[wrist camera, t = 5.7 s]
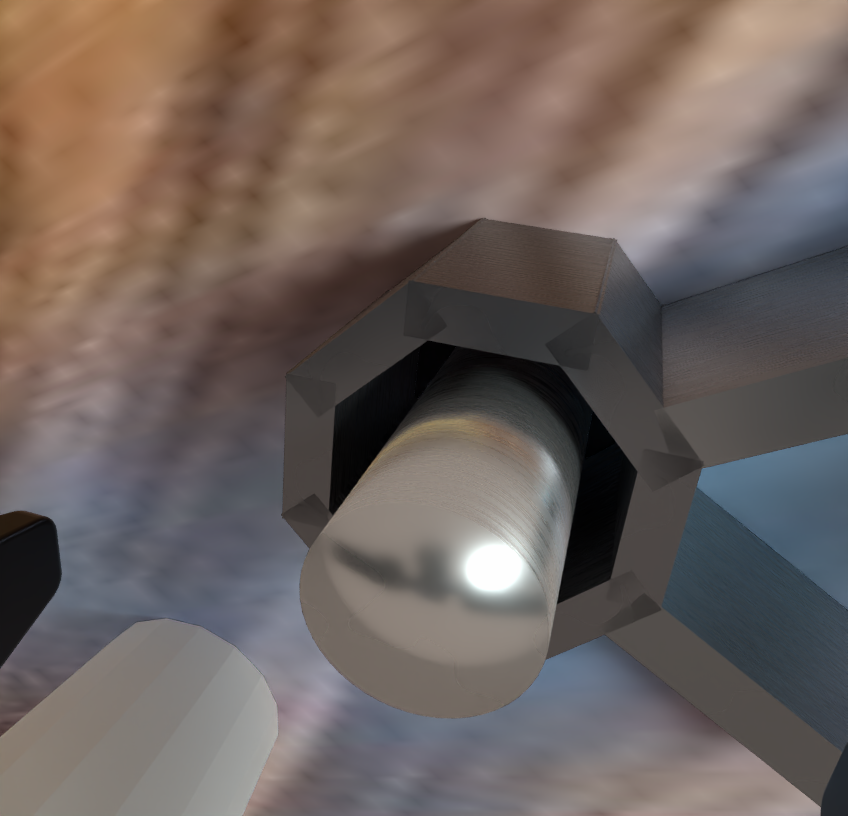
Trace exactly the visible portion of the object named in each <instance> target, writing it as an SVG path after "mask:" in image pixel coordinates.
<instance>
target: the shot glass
mask: <svg viewBox="0 0 848 816" xmlns="http://www.w3.org/2000/svg"><path fill="white" fill-rule="evenodd" d="M277 736H278V709H277V704H276V702H275V700H274V698H273V696H272V694H271V691H270V689H269V687H268V685H267V683H266V681H265V679H264V677H263V675H262V674H261V673H260V672H259V671H258V670H257V668H256V667H255V666H254V665H253V664H252V663H251V662H250V661H249V660H248V659H247V658H246V657H245V656H244V655H243V654H242V653H241V652H240V651H239V650H238V649H237V647H235V646H234V645H232V644H230V643H229V642H227V641H225V640H223V639H222V638H220V637H218V636H217V635H215V634H213V633H212V632H210V631H208V630H207V629H205V628H203V627H201V626H197V625H193V624H188V623H184V622H180V621H176V620H172V619H168V618H164V619H157V620H150V621H142V622H136V623H135V624H133V625H132V626H131V627H129V628H128V629H127V630H125V631H124V632H123V633H121V634H120V635H119V636H117V637H116V638H115V639H114V640H112V641H111V642H110V643H109V644H108V645H107V646H105V647H104V648H103V649H102V650H101V651H100V652H98V653H97V654H96V655H95V656H94V657H93V658H91V659H90V660H89V661H88V662H87V663H86V664H84V665H83V666H82V667H81V668H80V669H79V670H77V671H76V672H75V673H74V674H73V675H72V676H70V677H69V678H68V679H67V680H66V681H65V682H64V683H62V684H61V685H60V686H59V687H58V688H57V689H55V690H54V691H53V692H52V693H51V694H50V695H48V696H47V697H46V698H45V699H44V700H43V701H41V702H40V703H39V704H38V705H37V706H36V707H34V708H33V709H32V710H31V711H30V712H29V713H27V714H26V715H25V716H24V717H23V718H22V719H20V720H19V721H18V722H17V723H16V724H15V725H14V726H12V727H11V728H10V729H9V730H8V731H7V732H5V733H4V734H3V735H2V736H1V737H0V816H243V813H244V811H245V809H246V807H247V804H248V802H249V800H250V797H251V795H252V793H253V791H254V788H255V786H256V784H257V782H258V779H259V777H260V775H261V773H262V770H263V768H264V766H265V763H266V761H267V759H268V757H269V754H270V752H271V750H272V748H273V745H274V743H275V741H276V739H277Z"/></svg>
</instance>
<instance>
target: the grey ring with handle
mask: <svg viewBox="0 0 848 816" xmlns="http://www.w3.org/2000/svg"><path fill="white" fill-rule="evenodd" d="M428 340H429V341H434V342H440V343H445V344H450V345H455V346H460V347H465V348H471V349H476V350H481V351H486V352H491V353H496V354H502V355H507V356H512V357H517V358H522V359H527V360H533V361H538V362H543V363H548V364H553V365H558V366H561V367H562V369H563V370H564V371H565V373H566V374H567V376H568V377H569V378H570V380H571V381H572V382H573V384H574V385H575V386H576V388H577V389H578V391H579V392H580V393H581V395H582V396H583V397H584V399H585V400H586V402H587V403H588V404H589V406H590V407H591V408H592V410H593V411H594V412H595V414H596V415H597V417H598V418H599V419H600V421H601V422H602V423H603V425H604V426H605V427H606V429H607V430H608V432H609V433H610V434H611V436H612V437H613V438H614V440H615V441H616V443H615V444H613V445H611V446H609V447H608V448H606V449H604V450H602V451H600V452H598V453H597V454H595V455H593V456H591V457H589V458H588V459H586V460H584V462H583V467H582V473H581V478H580V483H579V488H578V494H577V499H576V504H575V510H574V515H573V520H572V526H571V531H570V536H569V541H568V547H567V552H566V557H565V563H564V568H563V573H562V578H561V584H560V589H559V594H558V600H557V605H556V610H555V615H554V621H553V626H552V631H551V637H550V642H549V647H548V652H547V655H546V659H549V658H551V657H553V656H556V655H558V654H560V653H563V652H565V651H567V650H570V649H572V648H574V647H577V646H579V645H581V644H584V643H586V642H588V641H591V640H593V639H595V638H598V637H600V636H602V635H606V636H607V637H608V638H610V639H611V640H612V641H613V642H615V643H616V644H617V645H618V646H620V647H621V648H622V649H623V650H625V651H626V652H627V653H628V654H630V655H631V656H632V657H633V658H635V659H636V660H637V661H638V662H640V663H641V664H642V665H643V666H645V667H646V668H647V669H649V670H650V671H651V672H652V673H654V674H655V675H656V676H657V677H659V678H660V679H661V680H662V681H664V682H665V683H666V684H667V685H669V686H670V687H671V688H672V689H674V690H675V691H676V692H677V693H679V694H680V695H681V696H682V697H684V698H685V699H686V700H687V701H689V702H690V703H691V704H692V705H694V706H695V707H696V708H697V709H699V710H700V711H701V712H702V713H704V714H705V715H706V716H707V717H709V718H710V719H711V720H712V721H714V722H715V723H716V724H717V725H719V726H720V727H721V728H722V729H724V730H725V731H726V732H727V733H729V734H730V735H731V736H732V737H734V738H735V739H736V740H737V741H739V742H740V743H741V744H742V745H744V746H745V747H746V748H747V749H749V750H750V751H751V752H752V753H754V754H755V755H756V756H757V757H759V758H760V759H761V760H762V761H764V762H765V763H766V764H767V765H769V766H770V767H771V768H772V769H774V770H775V771H776V772H777V773H779V774H780V775H781V776H782V777H784V778H785V779H786V780H787V781H789V782H790V783H791V784H792V785H794V786H795V787H796V788H797V789H799V790H800V791H801V792H802V793H804V794H805V795H806V796H808V797H809V798H810V799H811V800H813V801H814V802H815V803H816V804H818V805H819V806H820V807H821V802H822V797H823V793H824V791H825V788H826V786H827V784H828V782H829V780H830V778H831V775H832V773H833V771H834V769H835V767H836V765H837V762H838V760H839V758H840V756H841V754H842V752H843V750H844V747H845V745H846V744H847V742H848V610H847V609H845V608H844V607H843V606H842V605H841V604H839V603H838V602H837V601H836V600H834V599H833V598H832V597H831V596H829V595H828V594H827V593H826V592H825V591H823V590H822V589H821V588H820V587H818V586H817V585H816V584H815V583H813V582H812V581H811V580H810V579H809V578H807V577H806V576H805V575H804V574H802V573H801V572H800V571H799V570H797V569H796V568H795V567H794V566H793V565H791V564H790V563H789V562H788V561H786V560H785V559H784V558H783V557H781V556H780V555H779V554H778V553H777V552H775V551H774V550H773V549H772V548H770V547H769V546H768V545H767V544H765V543H764V542H763V541H762V540H761V539H759V538H758V537H757V536H756V535H754V534H753V533H752V532H751V531H749V530H748V529H747V528H746V527H745V526H743V525H742V524H741V523H740V522H738V521H737V520H736V519H735V518H734V517H732V516H731V515H730V514H729V513H727V512H726V511H725V510H724V509H722V508H721V507H720V506H719V505H718V504H716V503H715V502H714V501H713V500H711V499H710V498H709V497H708V496H706V495H705V494H704V493H703V492H702V491H700V490H699V489H698V488H697V487H696V486H697V483H698V480H699V476H700V473H701V469H702V468H706V467H711V466H715V465H719V464H723V463H727V462H732V461H736V460H740V459H744V458H748V457H752V456H757V455H761V454H765V453H769V452H773V451H778V450H782V449H786V448H790V447H794V446H798V445H803V444H807V443H811V442H815V441H819V440H824V439H828V438H832V437H836V436H840V435H844V434H848V246H847V247H844V248H841V249H837V250H834V251H831V252H828V253H825V254H822V255H819V256H816V257H813V258H810V259H807V260H804V261H800V262H797V263H794V264H791V265H788V266H785V267H782V268H779V269H776V270H773V271H770V272H767V273H763V274H760V275H757V276H754V277H751V278H748V279H745V280H742V281H739V282H736V283H733V284H730V285H727V286H723V287H720V288H717V289H714V290H711V291H708V292H705V293H702V294H699V295H696V296H693V297H690V298H686V299H683V300H680V301H677V302H674V303H671V304H668V305H665V306H661V305H660V303H659V302H658V300H657V299H656V298H655V296H654V295H653V293H652V292H651V290H650V289H649V288H648V286H647V285H646V283H645V282H644V280H643V279H642V277H641V276H640V275H639V273H638V272H637V270H636V269H635V267H634V266H633V265H632V263H631V262H630V260H629V259H628V257H627V256H626V254H625V253H624V252H623V250H622V249H621V247H620V246H619V244H618V243H617V240H615V239H614V238H613V239H608V238H602V237H596V236H589V235H583V234H577V233H570V232H564V231H558V230H552V229H545V228H539V227H533V226H526V225H520V224H514V223H507V222H501V221H495V220H488V219H486V218H484V219H480V220H479V221H478V222H477V223H476V224H475V225H473V226H472V227H471V228H470V229H469V230H467V231H466V232H465V233H464V234H463V235H462V236H460V237H459V238H458V239H456V240H455V241H454V242H453V243H451V244H450V245H449V246H447V247H446V248H445V249H443V250H442V251H441V252H439V253H438V254H437V255H436V256H434V257H433V258H432V259H430V260H429V261H428V262H426V263H425V264H424V265H422V266H421V267H420V268H419V269H417V270H416V271H415V272H413V273H412V274H411V275H409V276H408V277H407V278H405V279H404V280H403V281H402V282H400V283H399V284H398V285H396V286H395V287H394V288H392V289H391V290H388V291H387V292H385V293H384V294H383V295H382V296H380V297H379V298H378V299H377V300H376V301H374V302H373V303H372V304H371V305H369V306H368V307H367V308H366V309H365V310H363V311H362V312H361V313H360V314H358V315H357V316H356V317H355V318H354V319H352V320H351V321H350V322H349V323H347V324H346V325H345V326H344V327H343V328H341V329H340V330H339V331H338V332H336V333H335V334H334V335H333V336H332V337H330V338H329V339H328V340H327V341H325V342H324V343H323V344H322V345H321V346H319V347H318V348H317V349H316V350H314V351H313V352H312V353H311V354H310V355H308V356H307V357H306V358H305V359H303V360H302V361H301V362H300V363H299V364H297V365H296V366H295V367H294V368H292V369H291V370H290V371H289V372H288V373H287V375H286V376H285V377H286V411H285V445H284V478H283V512H282V514H281V515H282V518H284V519H285V520H286V521H287V522H288V524H289V525H290V526H291V527H292V528H293V530H294V531H295V532H296V533H297V534H298V536H299V537H300V538H301V539H302V540H303V542H304V543H305V544H306V545H307V546H308V548H309V549H310V547H311V546H312V545H313V543H314V542H315V540H316V539H317V537H318V536H319V535H320V533H321V532H322V531H323V529H324V528H325V526H326V525H327V524H328V522H329V521H330V520H331V518H332V517H333V515H334V514H335V513H336V511H337V510H338V509H339V507H340V506H341V504H342V503H343V502H344V500H345V499H346V498H347V496H348V495H349V493H350V492H351V491H352V489H353V488H354V487H355V485H356V484H357V482H358V481H359V480H360V478H361V477H362V476H363V474H364V473H365V471H366V470H367V469H368V467H369V466H370V465H371V463H372V462H373V460H374V459H375V458H376V456H377V455H378V454H379V452H380V451H381V449H382V448H383V447H384V445H385V444H386V443H387V441H388V440H389V438H390V437H391V436H392V434H393V433H394V432H395V430H396V429H397V427H398V426H399V425H400V423H401V422H402V421H403V419H404V418H405V416H406V415H407V414H408V412H409V411H410V410H411V408H412V407H413V405H414V404H415V403H416V401H417V400H418V399H417V397H416V396H415V389H416V379H417V370H418V361H419V351H420V346H421V345H422V344H424V343H425V342H426V341H428ZM546 659H545V660H546Z"/></svg>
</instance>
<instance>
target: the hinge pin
mask: <svg viewBox="0 0 848 816" xmlns="http://www.w3.org/2000/svg"><path fill="white" fill-rule="evenodd" d="M592 414H593V410H592V408H591V407H590V406H589V404H588V403H587V402H586V400H585V399H584V397H583V396H582V395H581V393H580V392H579V391H578V389H577V388H576V386H575V385H574V384H573V382H572V381H571V380H570V378H569V377H568V376H567V374H566V373H565V371H564V370H563V369H562V367H561V366H558V365H553V364H548V363H543V362H538V361H533V360H527V359H522V358H517V357H512V356H507V355H502V354H496V353H491V352H486V351H481V350H476V349H471V348H465V347H460V346H456V348H455V349H454V350H453V352H452V353H451V355H450V356H449V357H448V359H447V360H446V361H445V363H444V364H443V366H442V367H441V368H440V370H439V371H438V372H437V374H436V375H435V377H434V378H433V379H432V381H431V382H430V383H429V385H428V386H427V388H426V389H425V390H424V392H423V393H422V394H421V396H420V397H419V399H418V400H417V401H416V403H415V404H414V405H413V407H412V408H411V410H410V411H409V412H408V414H407V415H406V416H405V418H404V419H403V421H402V422H401V423H400V425H399V426H398V427H397V429H396V430H395V432H394V433H393V434H392V436H391V437H390V438H389V440H388V441H387V443H386V444H385V445H384V447H383V448H382V449H381V451H380V452H379V454H378V455H377V456H376V458H375V459H374V460H373V462H372V463H371V465H370V466H369V467H368V469H367V470H366V471H365V473H364V474H363V476H362V477H361V478H360V480H359V481H358V482H357V484H356V485H355V487H354V488H353V489H352V491H351V492H350V493H349V495H348V496H347V498H346V499H345V500H344V502H343V503H342V504H341V506H340V507H339V509H338V510H337V511H336V513H335V514H334V515H333V517H332V518H331V520H330V521H329V522H328V524H327V525H326V526H325V528H324V529H323V531H322V532H321V533H320V535H319V536H318V537H317V539H316V540H315V542H314V543H313V545H312V546H311V547H310V549H309V551H308V554H307V556H306V558H305V560H304V564H303V567H302V570H301V577H300V601H301V607H302V612H303V615H304V618H305V621H306V625H307V627H308V629H309V631H310V633H311V635H312V638H313V639H314V641H315V643H316V644H317V646H318V647H319V649H320V651H321V652H322V653H323V655H324V656H325V657H326V658H327V660H328V661H329V662H330V663H331V664H332V665H333V666H334V668H335V669H336V670H337V671H338V672H339V673H340V674H341V675H343V676H344V677H345V678H346V679H347V680H348V681H350V682H351V683H352V684H353V685H355V686H356V687H358V688H359V689H360V690H362V691H363V692H365V693H366V694H368V695H370V696H372V697H373V698H375V699H377V700H379V701H381V702H383V703H385V704H387V705H390V706H392V707H394V708H397V709H400V710H403V711H406V712H409V713H413V714H417V715H422V716H428V717H435V718H466V717H472V716H478V715H483V714H486V713H489V712H492V711H495V710H497V709H499V708H501V707H503V706H505V705H507V704H509V703H511V702H512V701H514V700H515V699H516V698H518V697H519V696H521V695H522V694H523V693H524V692H525V691H526V690H527V689H528V688H529V687H530V686H531V684H532V683H533V682H534V680H535V679H536V678H537V676H538V674H539V673H540V671H541V669H542V667H543V665H544V662H545V659H546V655H547V652H548V647H549V642H550V637H551V631H552V626H553V621H554V615H555V610H556V605H557V600H558V594H559V589H560V584H561V578H562V573H563V568H564V563H565V557H566V552H567V547H568V541H569V536H570V531H571V526H572V520H573V515H574V510H575V504H576V499H577V494H578V488H579V483H580V478H581V473H582V467H583V462H584V457H585V451H586V446H587V441H588V436H589V430H590V425H591V420H592Z"/></svg>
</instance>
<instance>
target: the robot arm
mask: <svg viewBox="0 0 848 816" xmlns="http://www.w3.org/2000/svg"><path fill="white" fill-rule="evenodd" d="M61 575H62V570H61V561H60V553H59V545H58V536H57V529H56V525H55V524H54V522H53V521H52V520H51V519H50V518H48V517H46V516H42V515H38V514H35V513H31V512H27V511H14V512H11V513H7V514H3V515H0V668H1V667H2V665H3V664H4V663H5V661H6V660H7V659H8V657H9V656H10V654H11V653H12V652H13V650H14V649H15V648H16V646H17V645H18V644H19V642H20V641H21V639H22V638H23V637H24V635H25V634H26V633H27V631H28V630H29V629H30V627H31V626H32V625H33V623H34V622H35V620H36V619H37V618H38V616H39V615H40V614H41V612H42V611H43V610H44V608H45V607H46V605H47V604H48V603H49V601H50V600H51V599H52V597H53V596H54V594H55V593H56V591H57V589H58V587H59V584H60V581H61ZM821 816H848V742H847V744H846V745H845V747H844V750H843V752H842V754H841V756H840V758H839V760H838V762H837V765H836V767H835V769H834V771H833V773H832V775H831V778H830V780H829V782H828V784H827V786H826V788H825V791H824V793H823V797H822V802H821Z"/></svg>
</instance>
